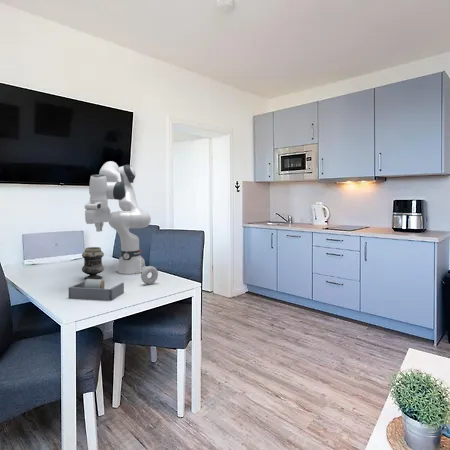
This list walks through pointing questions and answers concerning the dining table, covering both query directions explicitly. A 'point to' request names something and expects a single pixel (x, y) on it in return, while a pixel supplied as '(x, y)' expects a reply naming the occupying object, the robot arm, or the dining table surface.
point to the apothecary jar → (93, 262)
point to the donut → (145, 273)
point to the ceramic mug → (94, 283)
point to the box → (95, 292)
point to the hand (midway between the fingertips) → (99, 231)
